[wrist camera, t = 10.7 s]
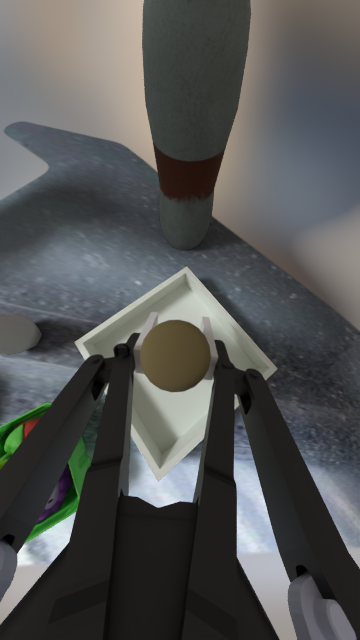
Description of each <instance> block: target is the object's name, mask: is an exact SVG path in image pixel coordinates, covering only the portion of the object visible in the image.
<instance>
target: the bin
mask: <svg viewBox="0 0 360 640" xmlns="http://www.w3.org/2000/svg"><path fill="white" fill-rule="evenodd" d="M151 312H158V324H159V323H162V322H165V321H168V320H183V321H187V322H190V323H191V324H193V325H195V326H196V327H198V328H199V329H200V328H201V322H202V316H203V317H209V319H210V324H211V328H212V332H213V337H214V340H222V341H223V342H224V344H225V347H226V350H227V353H228V356H229V359H230V362H232V363H233V364H234V366H235V367H236V368H237V369H240V370H243V371H246V369H248V368H252V369H255V370H257V371H259V372H260V373H261V374H262V375H263V377H264V379H265V381H266V380H267V379H268V378H269V377H270V376H271V375H272V374H273V373H274V372H275V371H276V370H277V368H276V366H275V365H274V364H273V363H272V362H271V361H270V360H269V358H268V357H267V356H266V355H265V354H264V353H263V352H262V351H261V349H260V348H259V347H258V346H257V345H256V344H255V343H254V342H253V340H252V339H251V338H250V337H249V336H248V335H247V334H246V333H245V331H244V330H243V329H242V328H241V327H240V326H239V325H238V324H237V322H236V321H235V320H234V319H233V318H232V317H231V316H230V315H229V313H228V312H227V311H226V310H225V309H224V308H223V307H222V306H221V304H220V303H219V302H218V301H217V300H216V299H215V298H214V297H213V295H212V294H211V293H210V292H209V291H208V290H207V289H206V287H205V286H204V285H203V284H202V283H201V282H200V281H199V280H198V278H197V277H196V276H195V275H194V274H193V273H192V272H191V271H190V269H189V268H188V267H185V268H184V269H182V270H181V271H179V272H178V273H176V274H175V275H173V276H172V277H170V278H169V279H167V280H166V281H164V282H163V283H161V284H160V285H158V286H157V287H155V288H154V289H153V290H151V291H150V292H148V293H147V294H145V295H144V296H142V297H141V298H139V299H138V300H136V301H135V302H133V303H132V304H130V305H129V306H127V307H126V308H124V309H123V310H121V311H120V312H118V313H117V314H115V315H114V316H112V317H111V318H109V319H108V320H106V321H105V322H104V323H102V324H101V325H99V326H98V327H96V328H95V329H93V330H92V331H90V332H89V333H87V334H86V335H84V336H83V337H81V338H80V339H78V340H77V341H75V342H74V343H75V344H76V346H77V348H78V349H79V351H80V353H81V354H82V356H83V357H84V359H85V360H86V359H87V358H88V357H90V356H92V355H95V354H100V355H102V356H104V358H110V357H114V351H113V348H114V347H115V346H116V345H117V344H120V343H126V342H127V340H128V339H129V337H130V335H131V334H133V333H134V332H135V333H141V332H142V330H143V328H144V326H145V324H146V322H147V320H148V318H149V315H150V313H151ZM213 382H214V379H213V378H212V380H201V381H200V382H199V383H198V384H197V385H196V386H195V387H193V388H191V389H189V390H186V391H184V392H168V391H165V390H161V389H159V388H158V387H156V386H155V385H153V384H152V383H151V382H150V381H149V380H148V378H147V377H146V375H145V374H140V373H136V372H135V371H134V384H133V402H132V420H131V437H132V439H133V441H134V442H135V444H136V446H137V447H138V449H139V450H140V452H141V454H142V455H143V457H144V459H145V460H146V462H147V464H148V465H149V467H150V469H151V470H152V472H153V474H154V475H155V477H156V479H157V480H158V481H159V480H161V479H162V478H163V477H164V476H165V475H166V474H167V473H168V472H169V471H170V470H171V469H172V468H173V467H174V466H175V465H176V464H178V463H179V462H180V461H181V460H182V459H183V458H184V457H185V456H186V455H187V454H188V453H189V452H190V451H191V450H192V449H193V448H194V447H196V446H197V445H198V444H199V443H200V442H201V441H202V440H203V439H204V435H205V429H206V422H207V416H208V410H209V404H210V398H211V392H212V390H211V389H212V385H213ZM108 385H109V383H108ZM108 385H107V387H106V389H105V391H104V392H105V394H107V389H108ZM238 406H239V402H238V398H237V395H236V394H235V406H234V410H235V409H236V408H237V407H238Z"/></svg>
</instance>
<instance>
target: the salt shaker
mask: <svg viewBox="0 0 360 640" xmlns="http://www.w3.org/2000/svg"><path fill="white" fill-rule="evenodd" d="M41 335H42V333H41V332H40V330H39V328H38V327H37V325H36V324H35V323H34V322H33V321H32V320H30V319H29V318H27V317H23V316H19V315H8V314H0V353H1V354H5V355H12V354H16V353H21V352H23V351H25V350H27V349H29V348H32V347H34V346H36V345H37V344H38V342H39V340H40V338H41Z"/></svg>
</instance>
